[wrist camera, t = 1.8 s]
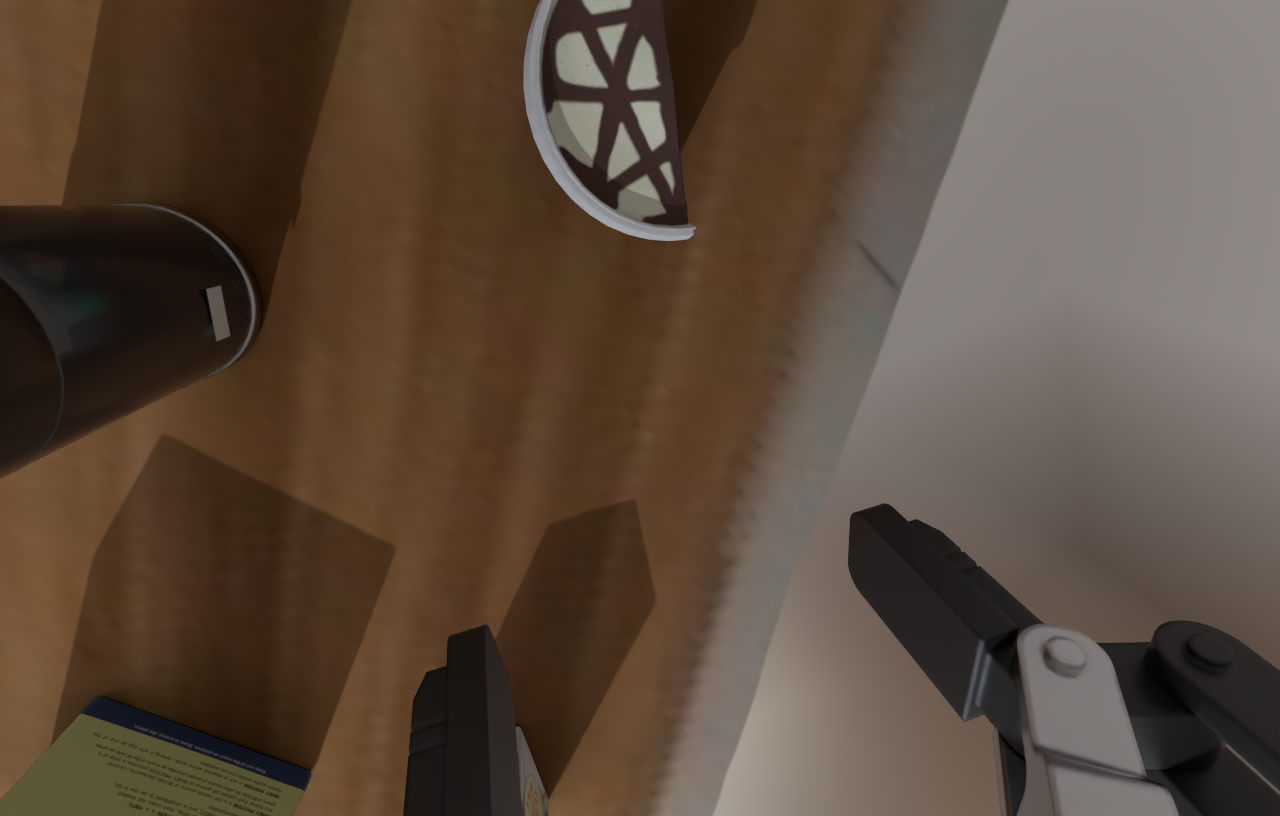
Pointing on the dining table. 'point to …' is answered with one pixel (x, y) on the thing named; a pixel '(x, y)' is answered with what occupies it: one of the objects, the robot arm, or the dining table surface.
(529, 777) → the coffee box
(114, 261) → the robot arm
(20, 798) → the protein box
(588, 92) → the food container
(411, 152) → the dining table surface
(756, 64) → the dining table surface
